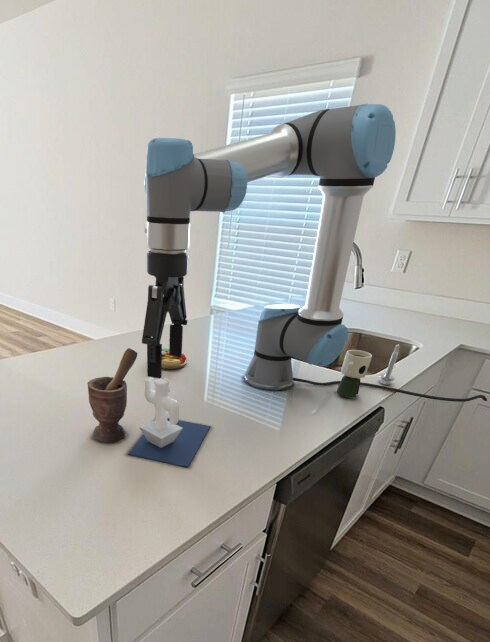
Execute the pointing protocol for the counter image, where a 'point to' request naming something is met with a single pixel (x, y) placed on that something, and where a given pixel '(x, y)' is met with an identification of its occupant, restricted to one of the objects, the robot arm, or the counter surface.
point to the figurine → (161, 414)
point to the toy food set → (172, 360)
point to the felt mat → (173, 445)
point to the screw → (390, 368)
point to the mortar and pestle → (110, 400)
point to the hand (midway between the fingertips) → (165, 365)
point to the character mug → (353, 372)
